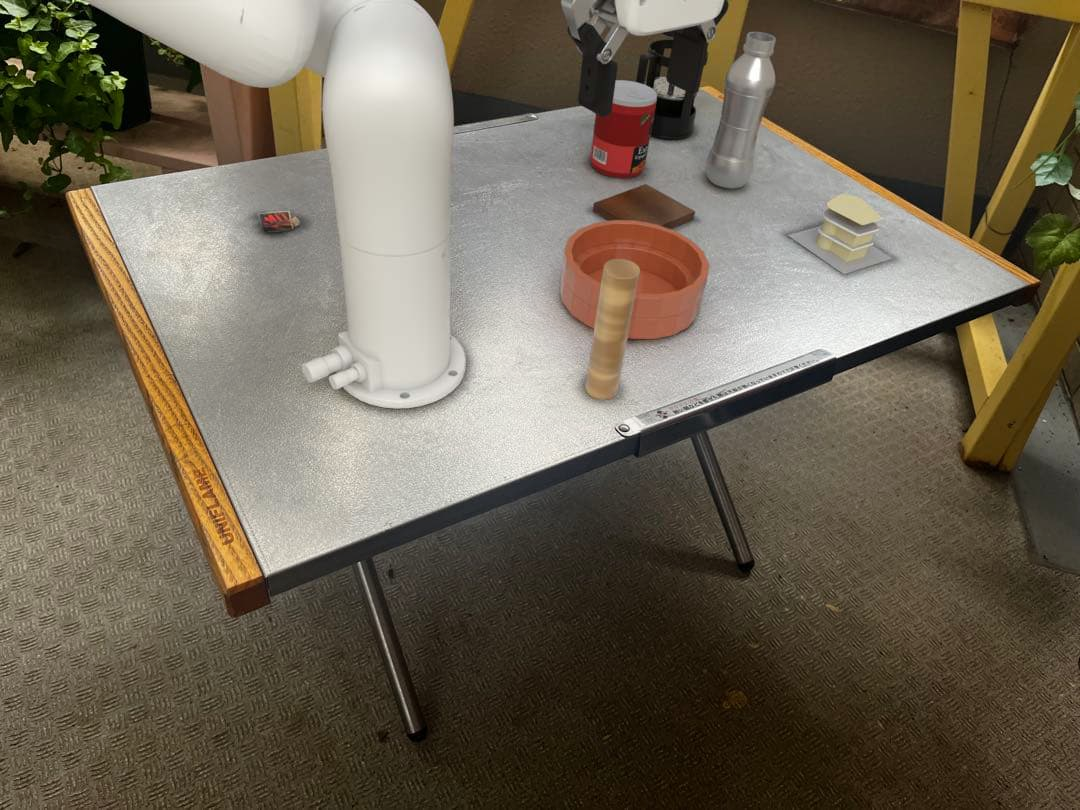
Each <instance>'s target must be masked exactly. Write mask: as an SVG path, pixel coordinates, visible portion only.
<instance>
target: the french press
mask: <svg viewBox="0 0 1080 810" xmlns="http://www.w3.org/2000/svg"><path fill="white" fill-rule="evenodd" d="M675 31H682V32H683V30H682V29H678V30H673V31H668V32H663V33H661V34H662V35H664V36H667V37H669V38H670V37H671V39H669V38H663V39H656V40H653V41H651V42H650V43H649V44H648V47H647V52H644V53H641V54H640V56H639V61H638V66H637V73H636V78H635V79H636V80H635V82H637V83H641V84H644V85H646V86H648V87H650V88H652V89H653V90H655V92H656V93H657V101H656V108H655V113H654V119H653V124H652V130H651V135H650V138H654V139H658V140H665V141H679V140H684V139H685V140H686V139H688V138H690V137H691V136H692V135H693V134H694V131H695V127H694V124H695V119H696V114H697V108H696V107H695V106H694V104H695V99H696V98H697V95H698V94H699V91H700V89H699V90H698V92H696V93H692V94H691V93H689V92H687V91H684V90H682V89H680V88H678V87H676V86H674V85H672V84H670V83H668V82H667V80H666V77H667V76H661V71H662V67H664V68H668V65H669V60H670V57H668V56H664V54H665V50H667V49H670V50H671V49H672V43H673V38H674V35H675ZM708 58H709V51H708V50H707V53H706V58H705V63H704V67H706V65H707V62H708Z"/></svg>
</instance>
